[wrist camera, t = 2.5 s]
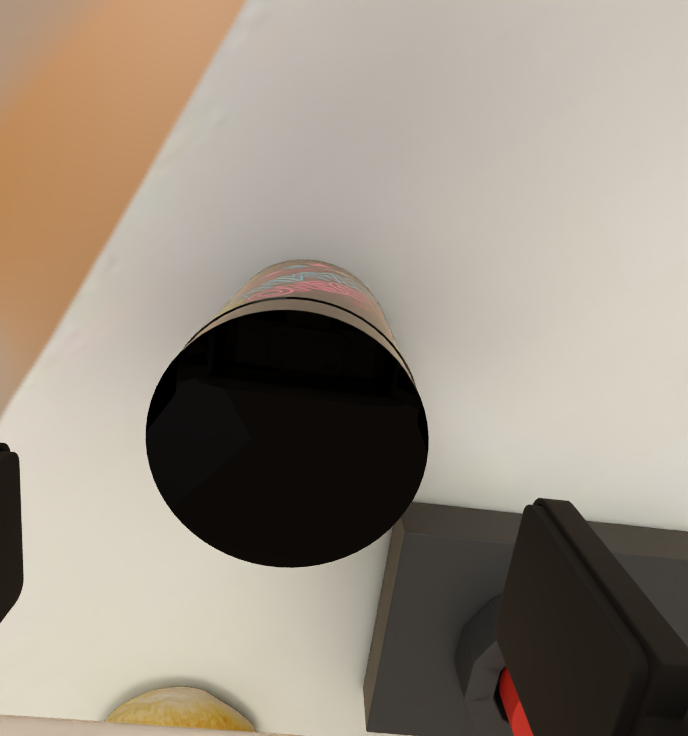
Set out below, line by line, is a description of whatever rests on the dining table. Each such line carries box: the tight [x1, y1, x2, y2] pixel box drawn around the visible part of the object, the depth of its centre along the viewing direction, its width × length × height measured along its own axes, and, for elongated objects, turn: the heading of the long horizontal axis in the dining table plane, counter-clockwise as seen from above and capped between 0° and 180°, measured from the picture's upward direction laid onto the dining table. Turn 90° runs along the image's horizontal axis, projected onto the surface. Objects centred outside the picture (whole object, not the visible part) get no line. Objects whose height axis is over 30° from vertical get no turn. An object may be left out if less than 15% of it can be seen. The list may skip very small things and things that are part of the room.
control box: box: [363, 502, 688, 736], centre depth 26 cm, size 11×14×4 cm
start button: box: [499, 667, 533, 736], centre depth 23 cm, size 4×4×2 cm
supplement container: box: [146, 260, 429, 568], centre depth 18 cm, size 7×7×10 cm
